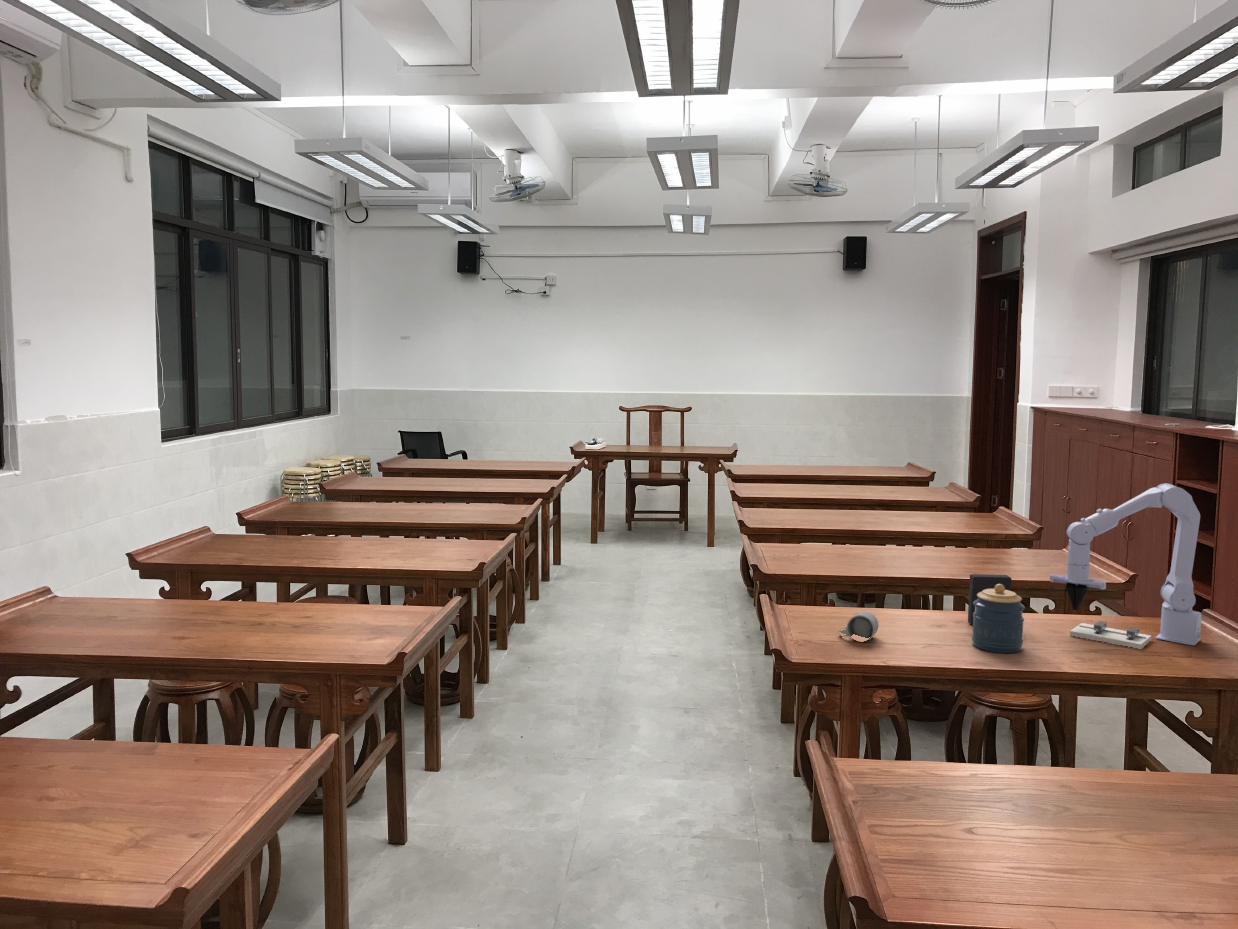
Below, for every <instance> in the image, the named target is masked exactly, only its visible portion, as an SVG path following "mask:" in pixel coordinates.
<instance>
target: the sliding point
mask: <svg viewBox="0 0 1238 929" xmlns="http://www.w3.org/2000/svg"><path fill="white" fill-rule="evenodd" d="M1093 625H1094V630H1095V631H1096V632H1098V631H1100V632H1102V631H1103V630H1104V629H1106V628H1108V627H1107V626H1108V622H1105V621H1100V620H1099V621H1097V622H1095V624H1093Z"/></svg>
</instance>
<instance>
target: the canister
mask: <svg viewBox="0 0 1238 929" xmlns="http://www.w3.org/2000/svg"><path fill="white" fill-rule="evenodd" d="M977 596H978V597H979V598H978V599H977V600H975V601H974V602H973V604H974V605H975V612H974V613H973V625H972V634H971V641H972V645H973V646H974V647H975V648H977V649H980V650H982V651H986V652H992V653H997V654H1014V653H1015V654H1016V653H1018V652H1020V651H1022V648H1023V644H1024V640H1023V636H1024V635H1023V634H1024V621H1025V618H1024V617H1023V611H1025V608H1026V607H1025V605H1024V604H1022V603H1021V601H1022V600H1023V598H1022V597H1021V596H1020V595H1018V594H1017V593H1016V592H1014V591H1009V590H1005V587H1004V586H1003V585H1002V584H997V585H995V587H994V589H985V590H983V591H982V592H979V593H978V594H977Z"/></svg>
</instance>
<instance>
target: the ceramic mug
mask: <svg viewBox="0 0 1238 929" xmlns="http://www.w3.org/2000/svg"><path fill="white" fill-rule="evenodd" d="M844 628H845V629H846V630H843V631H839V630H838V633H839V632H841V633H843V634H846V636H849V637H850V636H852V635H853V634H855V635H858V636H861V637H865V638H869V637H870V638H869V639H868V640H869V641H870V640H871V639H872V638H873V637H874V635H875V634H876V633H877V632H878V630H879V621H878V619H877V617H876V616H875V615H874V614H873V613H872V612H868V611H862V612H861V611H860V612H858V613H857V614H855V615H853V616H851V617H850V619H849V620H848V622H847V624H846V627H844ZM844 628H842V629H844Z"/></svg>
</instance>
